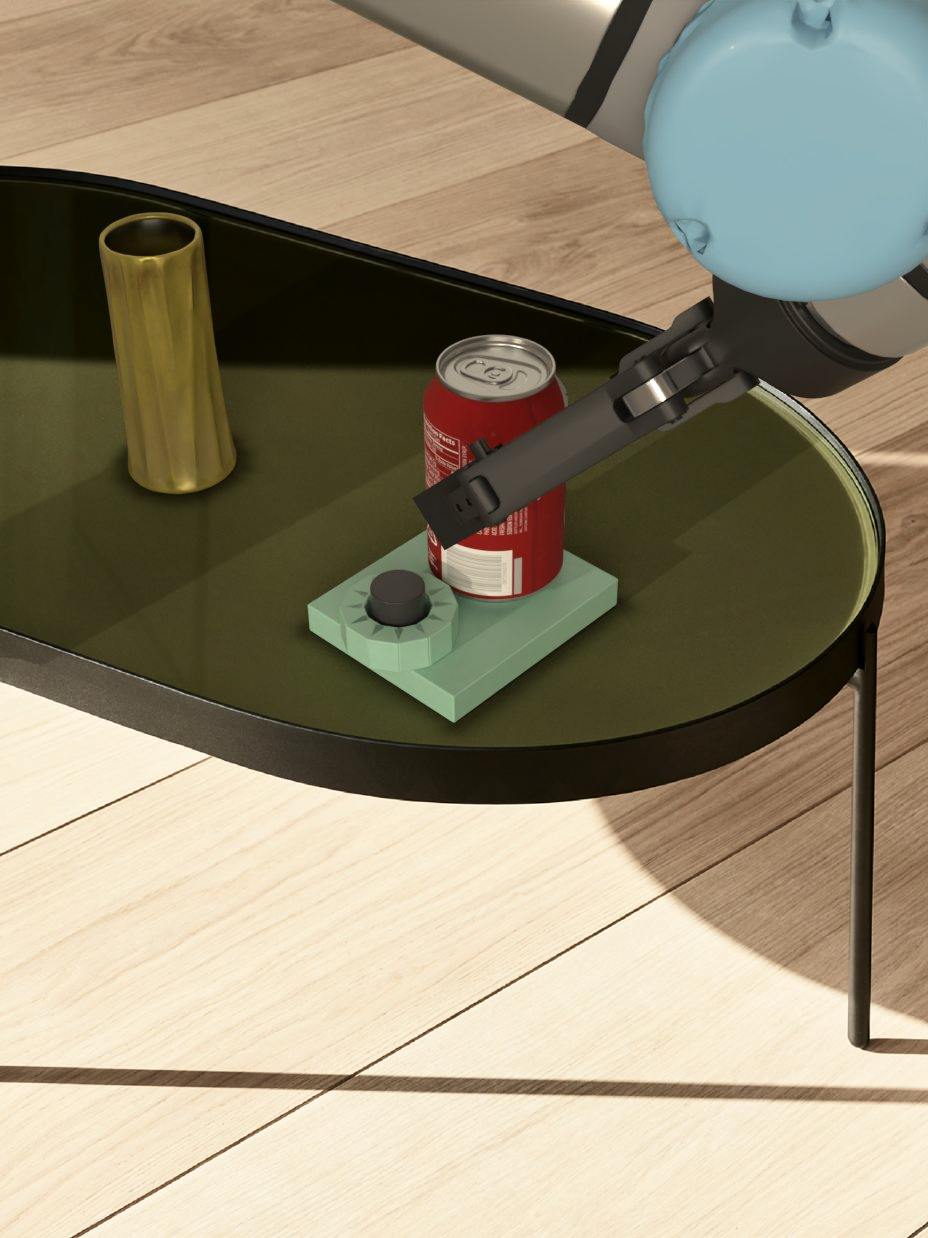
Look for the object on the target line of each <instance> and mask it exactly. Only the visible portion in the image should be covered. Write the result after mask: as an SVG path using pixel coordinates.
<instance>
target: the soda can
mask: <svg viewBox="0 0 928 1238" xmlns="http://www.w3.org/2000/svg"><path fill="white" fill-rule="evenodd" d="M556 366H557V364H556V360H555V358H554V356H553V355H552V353H551V352H550V351H549V350H548V349H547V348H545V346H542V345H541V344H540V343H537V342H535V341H532V340H530V339H528V338H523V337H519V336H515V335H506V334H486V335H477V336H472V337H468V338H465V339H462V340H459V341H457V342H455V343H453V344H450V345H449V346H448V347H447V348H445V349H444V350H443V351H442V352H441V353H440V354H439V356H438V357H437V359H436V362H435V375H434V377H432V379H431V380H430V382H429V383H428V385H427V386H426V389H425V390H424V394H423V397H422V406H423V407H422V409H423V410H422V413H423V442H424V444H423V445H424V472H425V477H424V479H425V490H426V489H428V488H430V487H431V486H433V485H434V484H436V483H438V482H439V481H441V480H442V479H444V478H446V477H447V476H449V475H450V474H452V473H454V472H455V471H457V470H459V469H460V468H462V467H463V466H465V465H467V464H468V463H470V462H471V461H473V460H475V459H476V458H475V457H474V455H473V453H472V452H471V450H470V449H469V447H468V446H469V445H470V444H472V443H473V442H475V441H477V440H478V439H480V438H482V437H484V439H485V440H486V442H487V444H488V445H489V447H490V449H492V448H494V447H495V446H497V445H499V444H500V443H502V445H503V446H504V445H506V444H508V443H509V442H511V441H512V440H514V439H516V438H517V437H519V436H520V435H522V434H524V433H525V432H527V431H529V430H530V429H532V428H533V427H535V426H537V425H538V424H540V423H541V422H543V421H545V420H546V419H548V418H550V417H551V416H553V415H554V414H556V413H558V412H559V411H561V410H562V409H564V408H566V407H567V406H569V394H568V392H567V388H566V387H565V385H564V384H563V381H561V379H560V378H559V377H558V375H557V374H556V371H557V367H556ZM566 485H567V482H565V483H563V484H562V485H560V486H558V487H557V488H555V489H553V490H552V491H550V492H548V493H547V494H545V495H543V496H541V497H540V498H538V499H536V500H535V501H533V502H531V503H530V504H528V506H526V507H525V508H523V509H522V510H520V511H516V512H514V513H513V514H511V515H509V516H508V518H507V521H506V522H504V523H503V524H501V525H499V526H496V525H495V526H494V527H492V528H490V527H489V528H487V527H486V528H484V529H483V530H481V531H479V532H477V533H475V534H474V535H472V536H470V537H468V538H466V539H465V540H463V541H461V542H459V543H457V544H455V545H454V546H452V547H450V548H448V549H446V550H444V549H443V547H442V546H441V544H440V542H439V541H438V539H437V538H436V536H435V534H434V533H433V531H432V529H431V528H430V526H429V525H428V523H427V522H426V530H427V541H428V565H429V569H430V571H431V574H432V575H433V576H434V577H436V578H437V579H439V580H441V581H443V582H444V583H446V584H448V585H449V586H450V588H451V590H452V592H453V594H455V595H457V596H460V597H463V598H465V599H469V600H473V601H478V602H486V603H505V602H513V601H518V600H522V599H526V598H529V597H531V596H534V595H536V594H538V593H540V592H542V591H543V590H545V589H546V588H548V587H549V586H550V585H551V584H552V583H553V582H554V581H555V580H556V579H557V577H558V576H559V574H560V572H561V570H562V566H563V551H564V550H565V547H564V546H565V522H566V521H565V520H566V519H565V518H566V517H565V516H566V489H567V487H566Z"/></svg>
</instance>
